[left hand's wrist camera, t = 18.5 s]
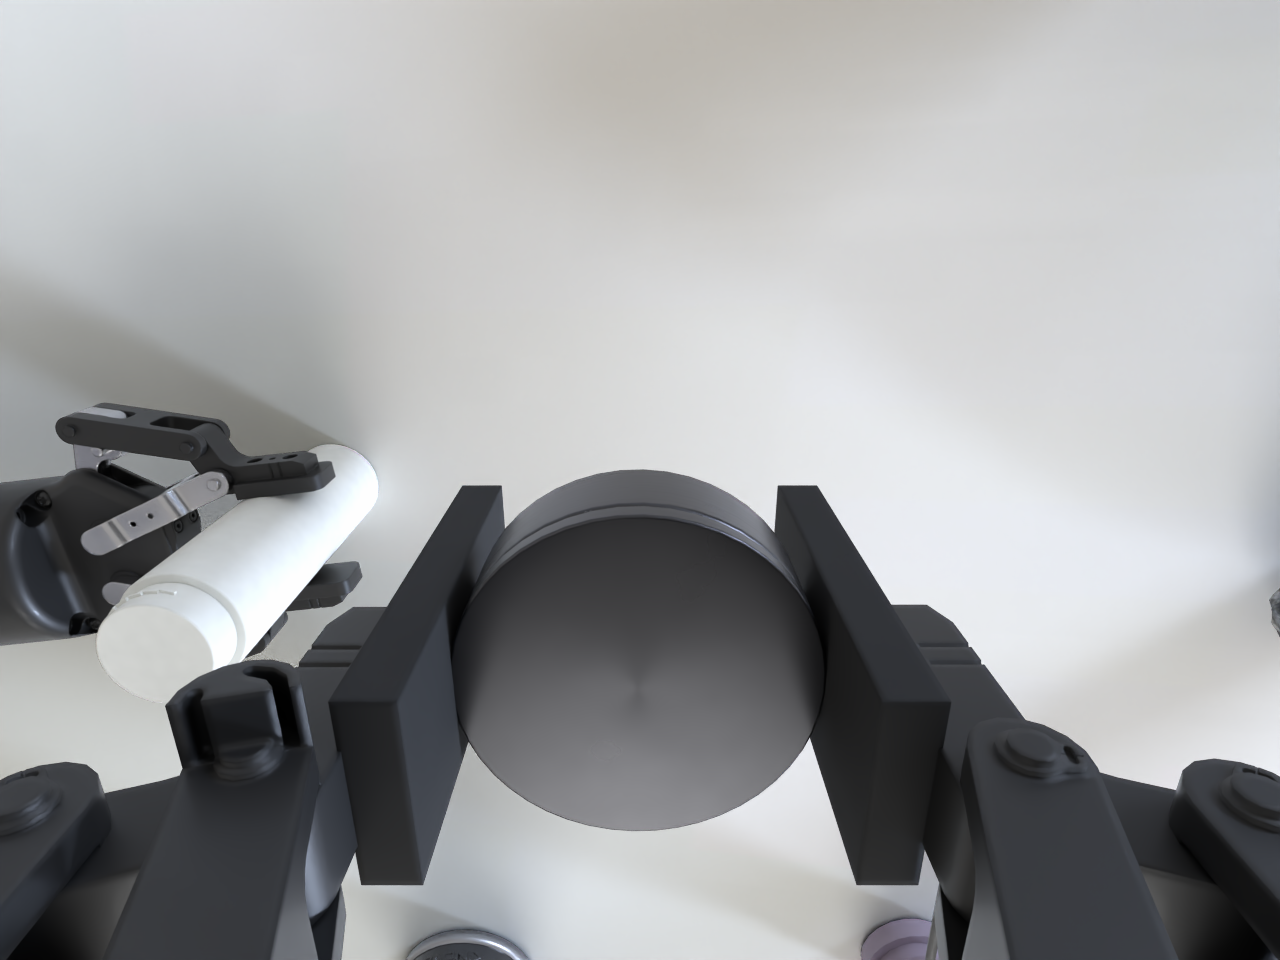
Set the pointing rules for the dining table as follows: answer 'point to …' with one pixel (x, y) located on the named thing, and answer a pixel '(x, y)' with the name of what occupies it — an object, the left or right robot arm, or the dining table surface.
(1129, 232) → the dining table surface
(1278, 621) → the concrete block
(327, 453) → the cylinder
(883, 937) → the cat figurine
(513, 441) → the dining table surface
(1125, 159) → the dining table surface
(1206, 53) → the dining table surface
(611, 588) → the lid
